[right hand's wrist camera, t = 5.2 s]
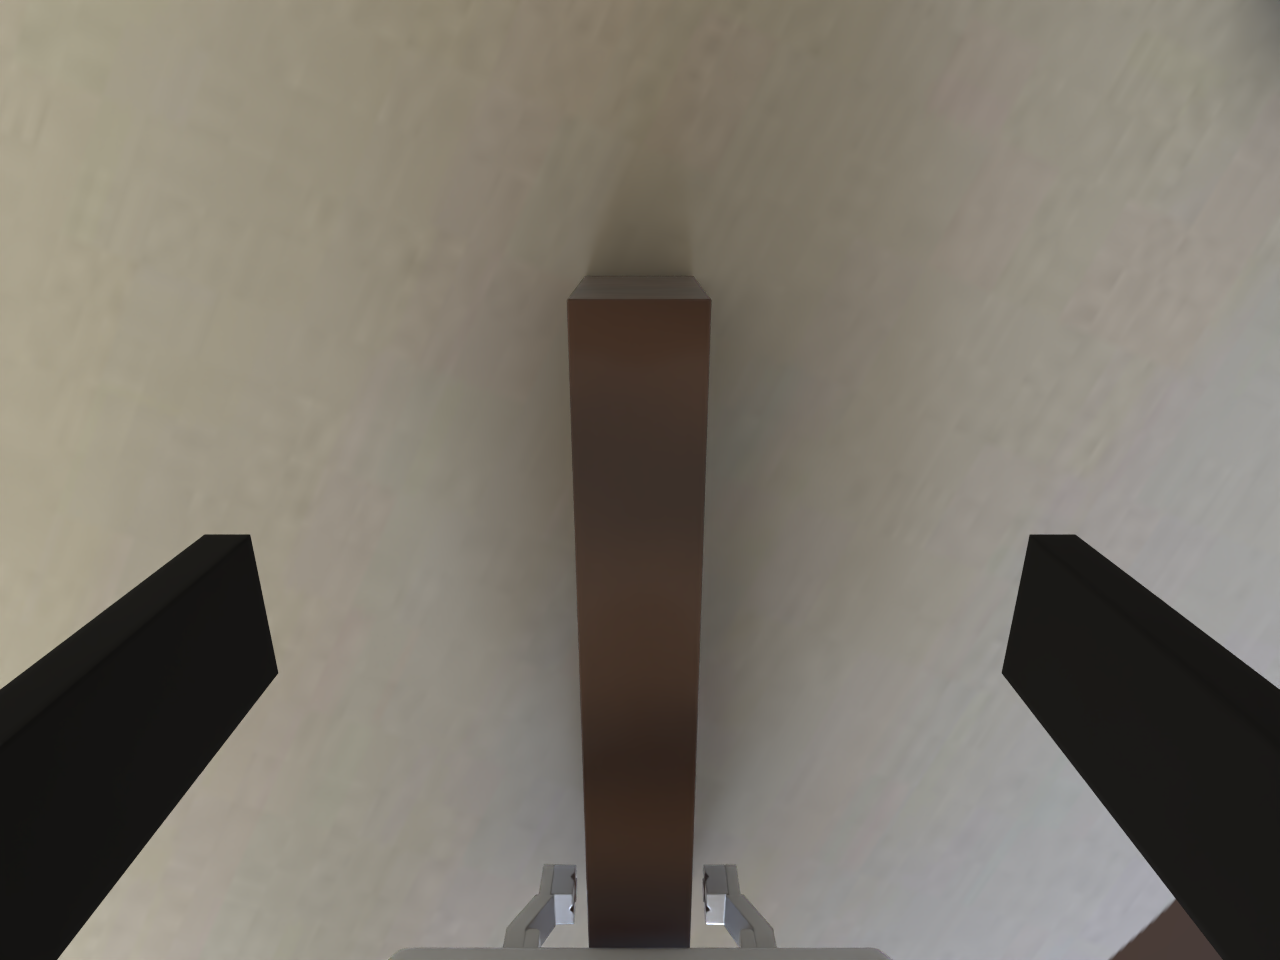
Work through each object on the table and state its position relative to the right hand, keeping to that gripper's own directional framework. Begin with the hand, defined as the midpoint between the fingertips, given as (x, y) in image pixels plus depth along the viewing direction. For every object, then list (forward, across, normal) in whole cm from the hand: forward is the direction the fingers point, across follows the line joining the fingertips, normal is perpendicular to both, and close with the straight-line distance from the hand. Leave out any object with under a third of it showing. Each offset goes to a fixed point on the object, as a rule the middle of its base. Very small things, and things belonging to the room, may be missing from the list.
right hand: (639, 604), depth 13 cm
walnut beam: (+17, 0, -11) cm, 20 cm away
